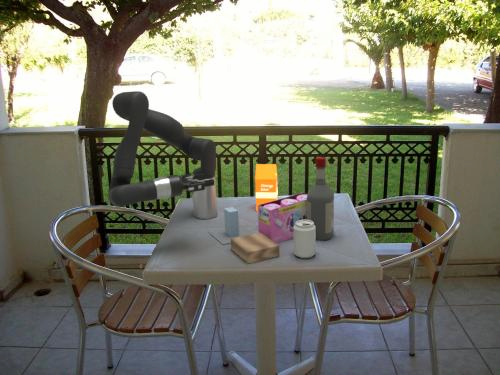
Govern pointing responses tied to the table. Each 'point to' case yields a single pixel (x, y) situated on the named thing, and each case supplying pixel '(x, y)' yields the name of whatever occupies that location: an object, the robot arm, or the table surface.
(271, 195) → the orange juice
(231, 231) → the block
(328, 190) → the liquor
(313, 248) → the can
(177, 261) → the table surface
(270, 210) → the gum box
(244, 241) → the wooden slab
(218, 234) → the mat
